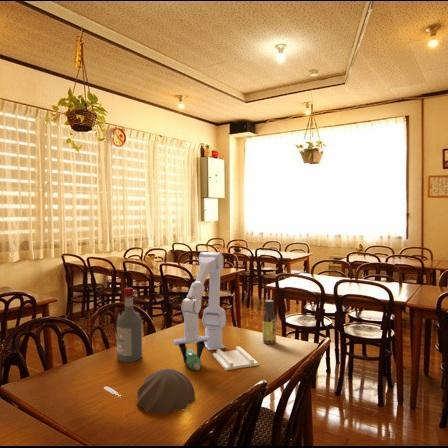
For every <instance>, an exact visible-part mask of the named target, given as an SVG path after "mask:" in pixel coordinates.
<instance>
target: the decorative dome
mask: <svg viewBox="0 0 448 448" xmlns="http://www.w3.org/2000/svg"><path fill="white" fill-rule="evenodd" d="M143 382H144V383H143V384H142V385H141V386H140V387H139V388H138V389H137V392H136V394H137V395H136V396H137V398H138V401H137V403H136V406H137V407H139V406H140V408H142V407H143V408H142V409H144V411H145V410H146V411H145V412H146V413H159V412H161V413H160V414H163V413H165V414H164V415H167V414H166V413H168V414H169V412H170V413H173V412H175V411H182V409H184V410H186V408H187V407H188V405H189V404H191V403H192V404H193V403H194V402H195V401H196V395H195V394H196V393H195V388H194V385H193V382H192V381H191V380H190V378H188V377H187V375H185V374H184V373H183V372H181V371H178V370H176V369H175V368H164V369H159V370H156V372H154V373H151V374H150V375H148V376H147V377H146V378H145V380H144V381H143ZM174 410H175V411H174Z"/></svg>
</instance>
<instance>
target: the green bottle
mask: <svg viewBox="0 0 448 448" xmlns="http://www.w3.org/2000/svg"><path fill="white" fill-rule="evenodd" d="M186 359H187V360H186V364H187V366H188V368H189V369H191V370H193V371H194V370H196V371H199V370H200V369H201V365H202V360H201V358H200V359H199V357H198V356H197V352H195V351H194V350H193V348H187V350H186Z"/></svg>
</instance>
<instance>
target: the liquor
mask: <svg viewBox="0 0 448 448" xmlns="http://www.w3.org/2000/svg"><path fill="white" fill-rule="evenodd" d="M123 291H124V293H123V295H124V311H122V313H121V314H120V315H119V316H118V318H117V319H116V323H115V326H116V358H117V360H118V361H120V362H123V363H134V362H136V361H138V360H140V359H142V356H143V326H142V325H143V324H142V323H143V321H142V320H143V319H142V317H141V315H139V314H138V313H137V312H136V311H135V308H134V288H133V287H124V288H123Z"/></svg>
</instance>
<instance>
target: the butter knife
mask: <svg viewBox="0 0 448 448" xmlns="http://www.w3.org/2000/svg"><path fill="white" fill-rule="evenodd" d="M103 390H105V391H107V392H108V393H110V394H112V395H114V394H115V395H114V396H116V395H118V396H117V397H119V396H121V395H122V394H120V393H119V392H118V391H116V390H115V389H113V388H111V387H110V386H104V387H103ZM118 393H119V394H120V395H119V394H118Z"/></svg>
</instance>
